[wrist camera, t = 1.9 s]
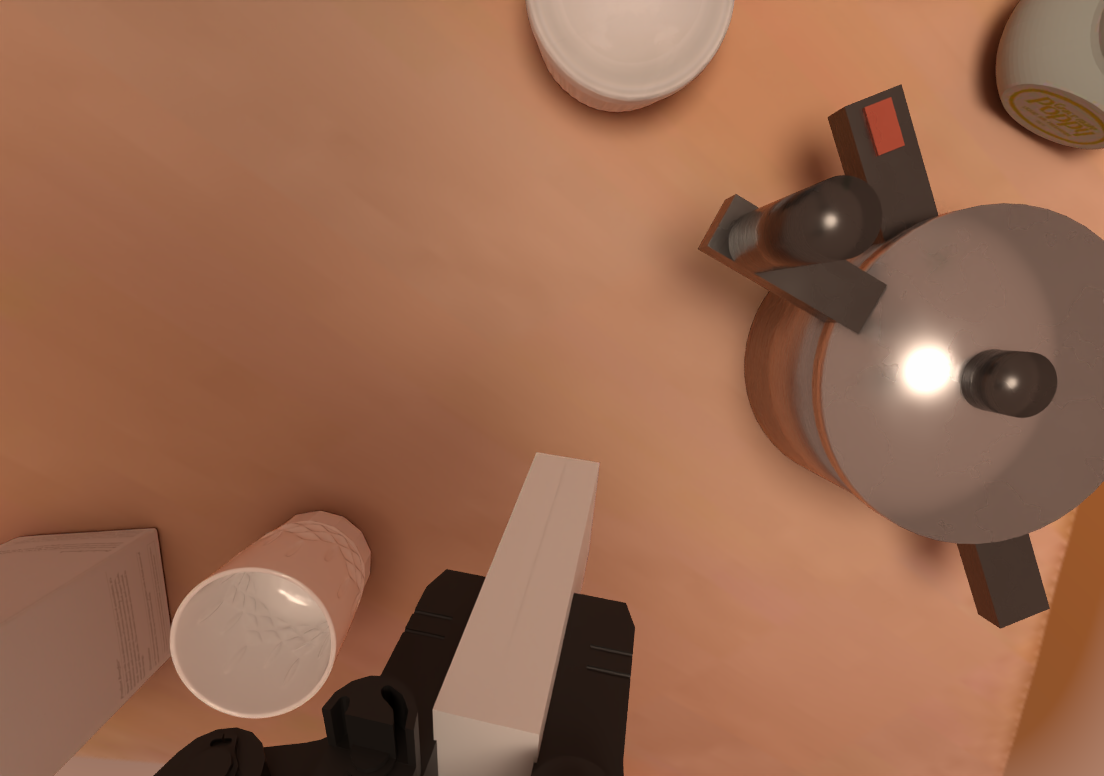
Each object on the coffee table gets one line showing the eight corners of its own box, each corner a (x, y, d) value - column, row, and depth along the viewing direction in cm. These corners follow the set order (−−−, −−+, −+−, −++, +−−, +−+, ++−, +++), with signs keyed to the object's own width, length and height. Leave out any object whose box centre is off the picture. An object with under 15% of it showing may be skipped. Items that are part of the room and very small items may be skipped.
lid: (1186, 310, 30) (1440, 311, 22) (1010, 585, 32) (1187, 684, 23) (800, 63, 27) (924, -44, 19) (626, 377, 29) (671, 404, 21)
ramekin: (598, -112, 35) (612, -187, 30) (742, 15, 36) (781, -35, 31) (485, 48, 35) (480, 2, 30) (631, 166, 37) (650, 142, 32)
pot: (1029, 514, 41) (1169, 570, 33) (817, 600, 41) (901, 679, 32) (911, 96, 37) (1035, 29, 28) (675, 189, 37) (726, 151, 28)
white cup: (400, 589, 39) (361, 682, 29) (289, 633, 39) (214, 742, 29) (350, 483, 38) (293, 543, 28) (236, 528, 38) (139, 605, 28)
